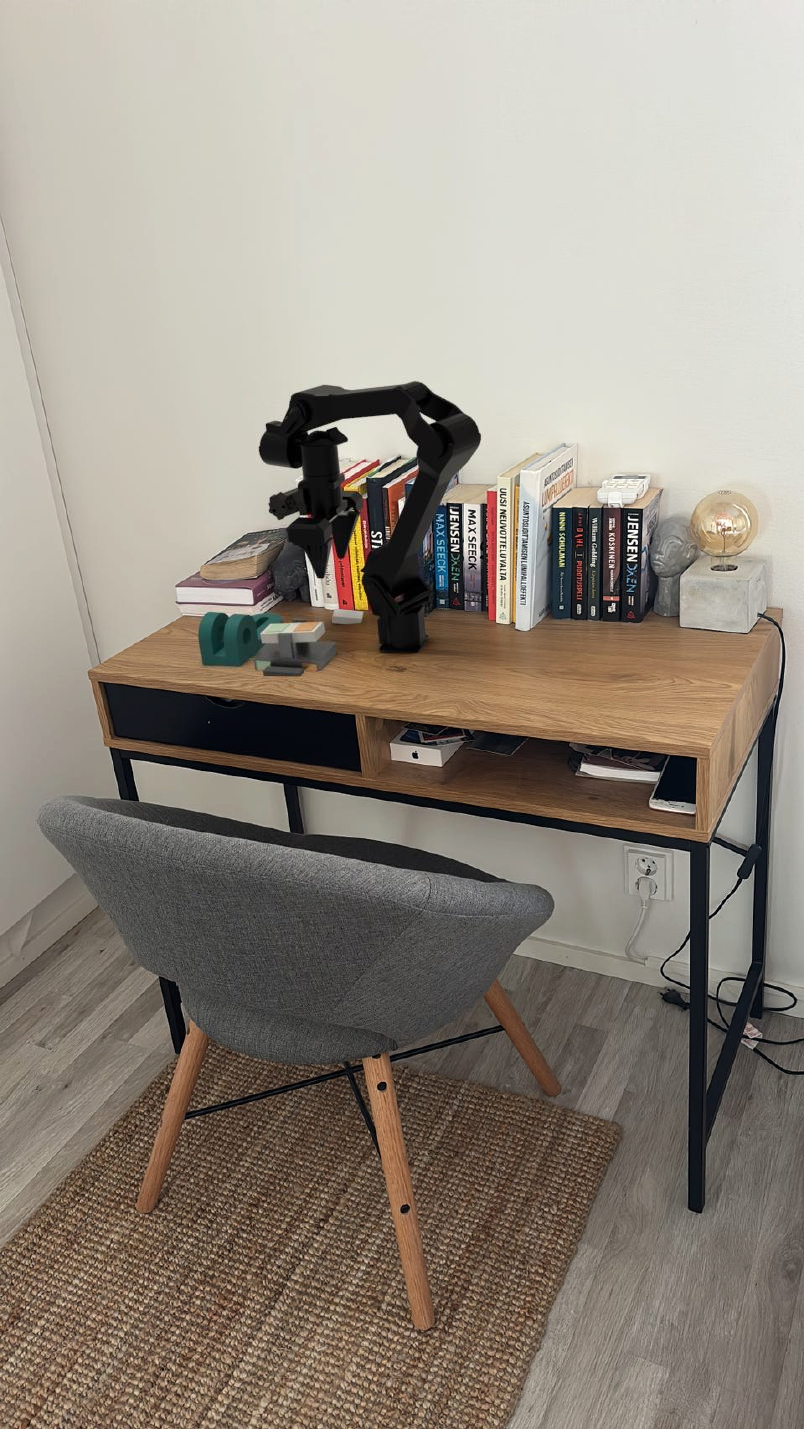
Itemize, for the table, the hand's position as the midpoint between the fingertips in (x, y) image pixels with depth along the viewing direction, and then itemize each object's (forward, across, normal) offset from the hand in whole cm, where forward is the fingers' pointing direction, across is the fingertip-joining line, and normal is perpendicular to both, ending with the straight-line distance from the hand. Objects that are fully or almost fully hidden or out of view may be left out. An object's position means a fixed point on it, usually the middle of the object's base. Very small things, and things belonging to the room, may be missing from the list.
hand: (331, 568), depth 184 cm
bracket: (+12, +5, -14) cm, 19 cm away
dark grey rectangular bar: (+12, +17, -2) cm, 21 cm away
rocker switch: (+6, +12, -2) cm, 14 cm away
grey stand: (+12, +12, -2) cm, 17 cm away
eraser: (+12, -4, -2) cm, 13 cm away
